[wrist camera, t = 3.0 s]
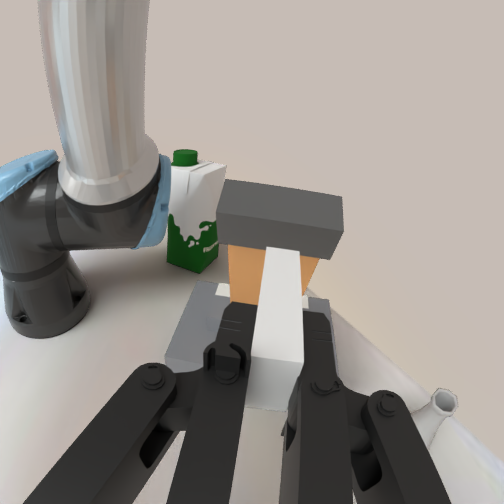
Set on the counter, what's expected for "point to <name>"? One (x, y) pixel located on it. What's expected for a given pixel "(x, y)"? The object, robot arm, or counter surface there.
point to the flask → (434, 414)
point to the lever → (274, 231)
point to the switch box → (214, 324)
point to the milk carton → (193, 210)
